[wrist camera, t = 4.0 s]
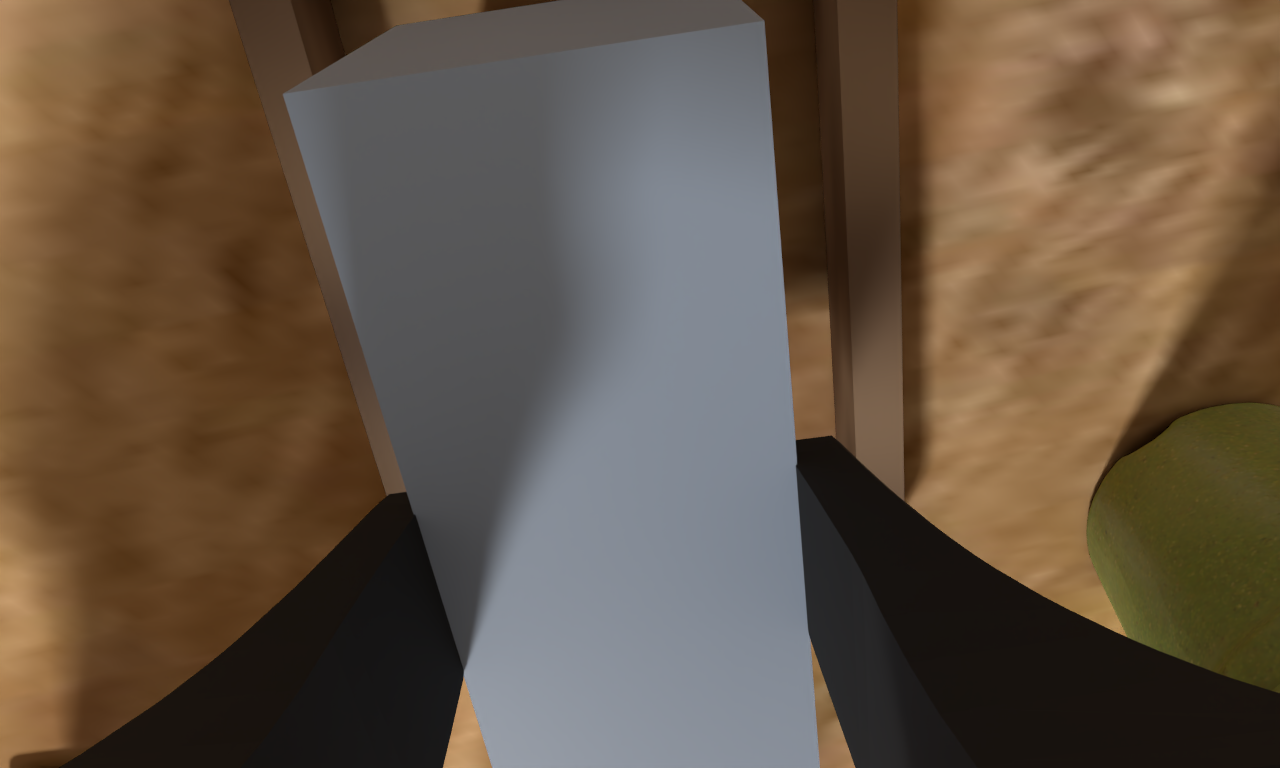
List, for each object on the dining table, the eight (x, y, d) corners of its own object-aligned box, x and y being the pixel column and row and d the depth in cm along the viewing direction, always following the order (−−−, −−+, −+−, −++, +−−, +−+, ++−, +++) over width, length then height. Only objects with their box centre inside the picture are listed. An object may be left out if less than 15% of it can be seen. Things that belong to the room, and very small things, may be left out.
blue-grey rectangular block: (776, 630, 18) (826, 863, 14) (552, 657, 19) (532, 895, 14) (713, -24, 13) (764, 20, 8) (396, 25, 13) (283, 93, 9)
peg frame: (882, 547, 24) (905, 606, 22) (454, 602, 24) (440, 663, 22) (861, -185, 16) (894, -198, 14) (250, -86, 17) (201, -85, 15)
